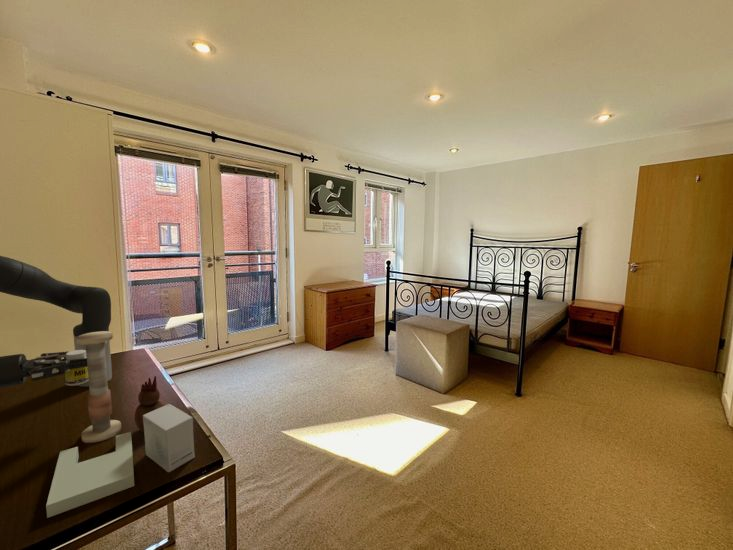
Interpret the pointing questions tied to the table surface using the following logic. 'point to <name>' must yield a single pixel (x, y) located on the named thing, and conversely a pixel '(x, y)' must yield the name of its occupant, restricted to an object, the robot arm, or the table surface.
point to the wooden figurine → (147, 402)
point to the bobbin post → (98, 389)
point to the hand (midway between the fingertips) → (89, 358)
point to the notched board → (90, 476)
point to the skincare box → (169, 437)
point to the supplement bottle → (77, 374)
